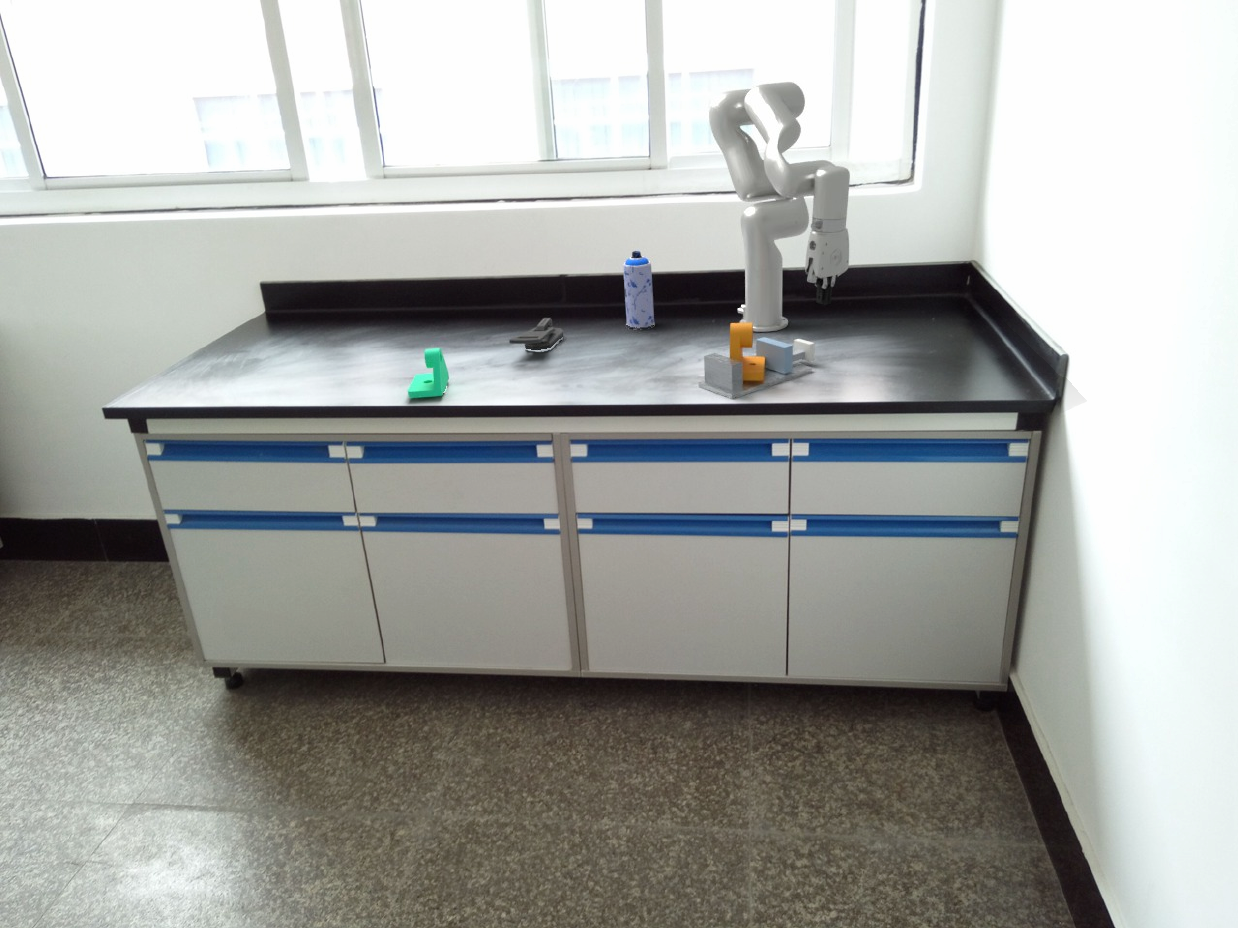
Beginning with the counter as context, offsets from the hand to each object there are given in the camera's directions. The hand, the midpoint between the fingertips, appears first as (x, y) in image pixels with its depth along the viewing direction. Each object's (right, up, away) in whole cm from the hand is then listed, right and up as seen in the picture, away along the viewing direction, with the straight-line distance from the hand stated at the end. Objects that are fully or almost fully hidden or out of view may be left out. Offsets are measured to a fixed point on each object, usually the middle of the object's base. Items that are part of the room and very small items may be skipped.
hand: (823, 302), depth 213 cm
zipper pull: (-69, -9, +21) cm, 72 cm away
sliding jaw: (-9, -15, -6) cm, 18 cm away
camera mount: (-92, -21, -3) cm, 94 cm away
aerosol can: (-42, 0, +35) cm, 55 cm away
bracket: (-19, -18, -11) cm, 29 cm away
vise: (-17, -19, -10) cm, 28 cm away
